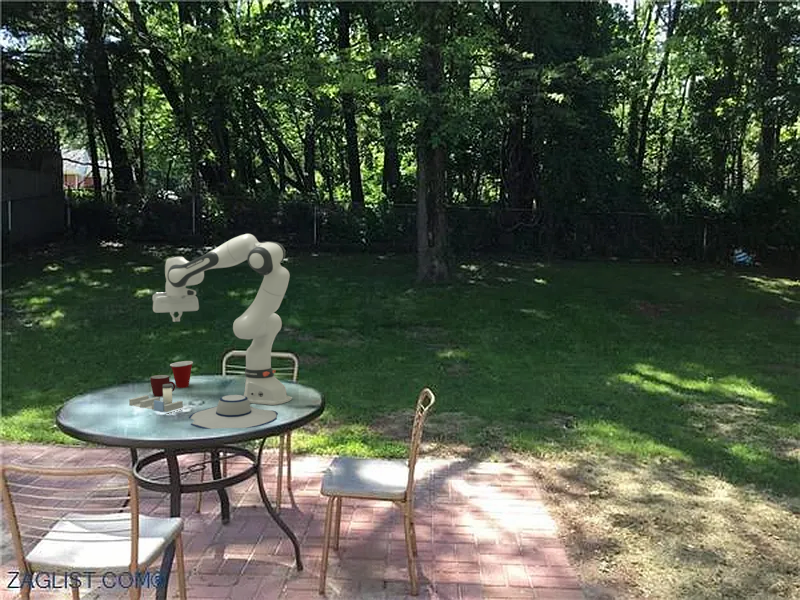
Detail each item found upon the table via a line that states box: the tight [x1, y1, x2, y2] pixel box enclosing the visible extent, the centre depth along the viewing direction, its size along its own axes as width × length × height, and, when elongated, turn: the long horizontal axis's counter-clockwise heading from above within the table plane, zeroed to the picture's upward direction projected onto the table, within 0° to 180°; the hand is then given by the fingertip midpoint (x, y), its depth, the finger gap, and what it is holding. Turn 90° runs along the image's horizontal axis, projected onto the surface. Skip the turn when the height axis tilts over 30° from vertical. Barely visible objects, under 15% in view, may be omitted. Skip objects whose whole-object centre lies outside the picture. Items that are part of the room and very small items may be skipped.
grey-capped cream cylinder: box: [162, 384, 173, 405], centre depth 292 cm, size 4×4×10 cm
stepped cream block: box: [128, 394, 184, 415], centre depth 296 cm, size 22×10×6 cm, turn 61°
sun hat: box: [188, 394, 279, 430], centre depth 284 cm, size 36×36×9 cm
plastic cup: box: [169, 360, 194, 389], centre depth 339 cm, size 11×11×12 cm
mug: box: [150, 374, 176, 398], centre depth 316 cm, size 11×8×10 cm
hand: (176, 321), depth 321 cm, fingers closed
